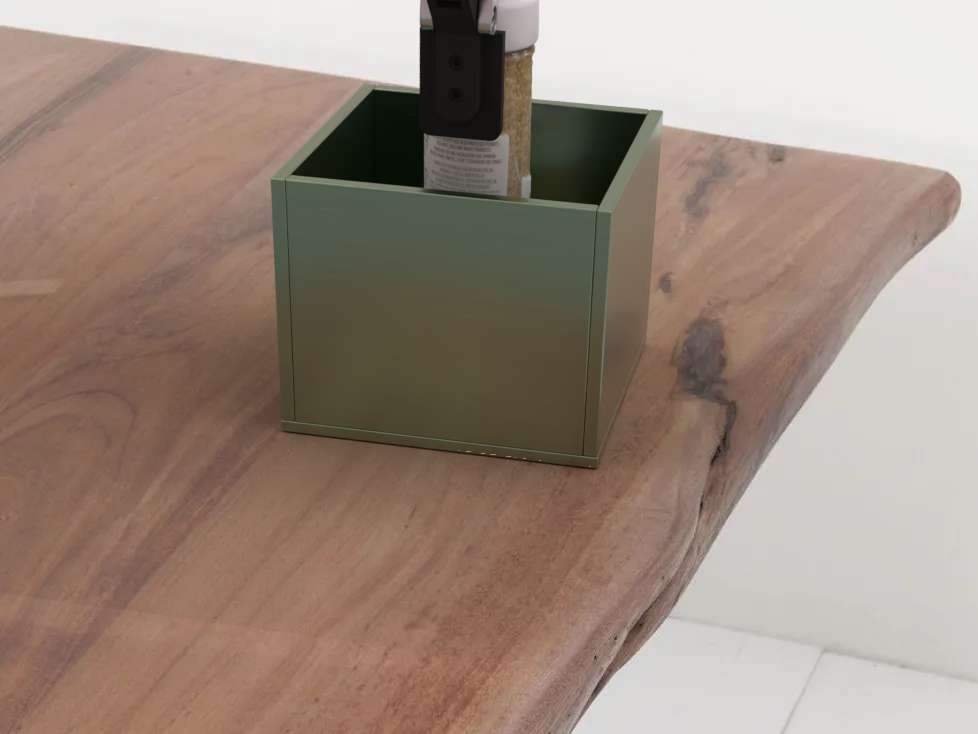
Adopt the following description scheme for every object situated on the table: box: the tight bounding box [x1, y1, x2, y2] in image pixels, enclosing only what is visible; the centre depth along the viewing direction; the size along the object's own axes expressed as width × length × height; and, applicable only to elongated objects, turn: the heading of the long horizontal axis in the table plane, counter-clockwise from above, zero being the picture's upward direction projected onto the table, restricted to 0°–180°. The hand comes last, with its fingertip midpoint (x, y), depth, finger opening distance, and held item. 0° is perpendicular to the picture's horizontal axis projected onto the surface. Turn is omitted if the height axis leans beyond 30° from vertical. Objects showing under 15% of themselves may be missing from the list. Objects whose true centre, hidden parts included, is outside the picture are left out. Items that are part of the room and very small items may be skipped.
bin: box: [270, 83, 664, 469], centre depth 79 cm, size 13×13×10 cm
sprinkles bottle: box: [424, 0, 540, 199], centre depth 76 cm, size 5×5×13 cm
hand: (476, 111), depth 75 cm, fingers closed on sprinkles bottle, 4 cm apart
